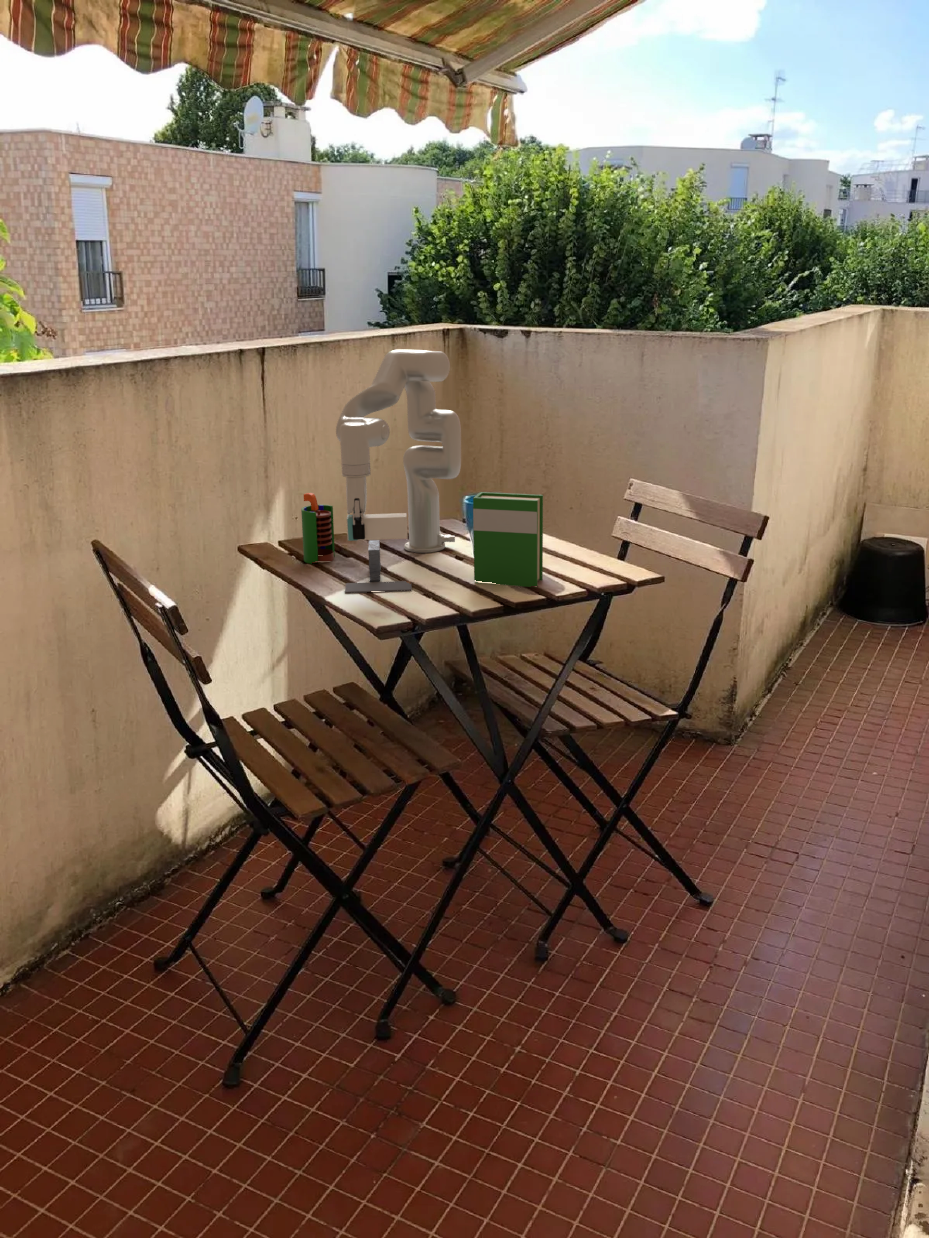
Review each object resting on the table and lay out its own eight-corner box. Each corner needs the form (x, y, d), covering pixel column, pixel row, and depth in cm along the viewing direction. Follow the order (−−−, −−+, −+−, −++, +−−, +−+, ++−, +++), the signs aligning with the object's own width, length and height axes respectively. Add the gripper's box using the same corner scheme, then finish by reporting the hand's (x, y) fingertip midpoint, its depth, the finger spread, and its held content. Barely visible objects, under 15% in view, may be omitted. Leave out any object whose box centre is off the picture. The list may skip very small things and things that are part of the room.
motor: (327, 564, 324) (323, 498, 317) (299, 563, 326) (294, 497, 319) (338, 555, 333) (334, 490, 327) (310, 554, 335) (306, 489, 328)
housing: (380, 566, 321) (379, 537, 318) (380, 582, 306) (379, 552, 303) (370, 566, 321) (369, 537, 318) (369, 583, 306) (368, 553, 303)
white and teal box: (407, 534, 299) (406, 512, 297) (407, 538, 295) (406, 516, 293) (348, 536, 298) (347, 514, 296) (347, 540, 294) (346, 518, 292)
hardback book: (542, 579, 306) (543, 494, 298) (536, 587, 299) (537, 500, 292) (481, 575, 311) (480, 492, 303) (474, 582, 304) (473, 497, 296)
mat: (411, 582, 305) (411, 580, 305) (411, 591, 298) (411, 589, 298) (346, 584, 304) (345, 583, 304) (344, 593, 297) (344, 591, 297)
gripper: (343, 464, 298) (346, 529, 304) (340, 476, 282) (344, 545, 288) (370, 463, 298) (373, 528, 304) (369, 475, 282) (372, 544, 288)
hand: (359, 536), depth 296 cm, fingers closed on white and teal box, 4 cm apart
